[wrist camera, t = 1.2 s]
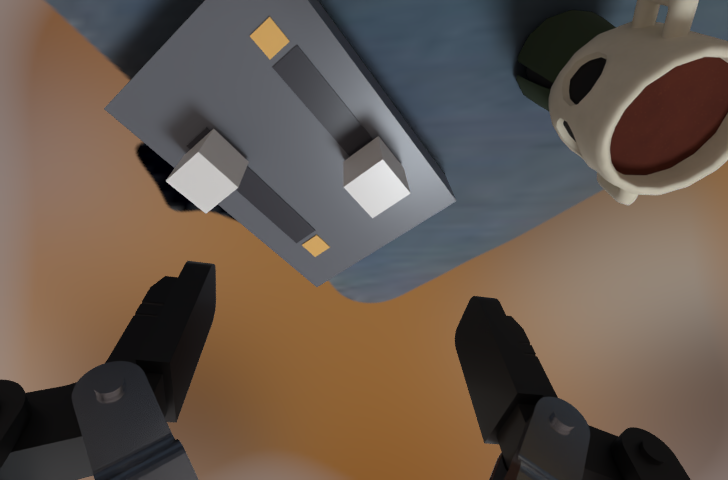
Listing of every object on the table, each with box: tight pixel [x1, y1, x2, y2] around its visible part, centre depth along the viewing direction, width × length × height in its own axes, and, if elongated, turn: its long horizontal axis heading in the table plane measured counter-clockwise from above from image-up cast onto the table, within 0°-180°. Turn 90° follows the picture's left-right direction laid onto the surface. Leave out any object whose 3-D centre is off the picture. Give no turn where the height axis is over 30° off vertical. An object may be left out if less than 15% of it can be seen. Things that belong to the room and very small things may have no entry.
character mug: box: [516, 0, 728, 205], centre depth 23 cm, size 11×7×13 cm, turn 8°
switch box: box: [104, 0, 456, 287], centre depth 29 cm, size 20×14×4 cm
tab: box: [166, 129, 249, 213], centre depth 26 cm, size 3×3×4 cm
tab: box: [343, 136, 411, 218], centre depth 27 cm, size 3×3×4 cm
